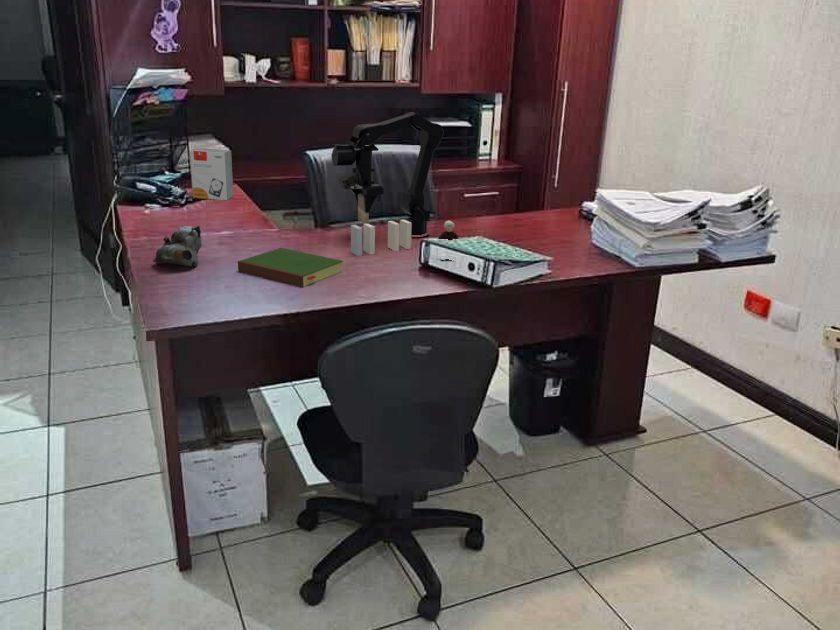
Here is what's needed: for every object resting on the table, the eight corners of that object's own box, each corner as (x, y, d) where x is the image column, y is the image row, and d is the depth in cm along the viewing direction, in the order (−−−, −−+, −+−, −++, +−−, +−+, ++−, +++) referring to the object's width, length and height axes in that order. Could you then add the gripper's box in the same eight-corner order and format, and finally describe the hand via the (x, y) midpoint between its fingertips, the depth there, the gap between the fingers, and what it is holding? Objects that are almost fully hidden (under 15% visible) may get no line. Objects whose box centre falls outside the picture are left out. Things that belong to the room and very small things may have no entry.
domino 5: (403, 245, 249) (404, 219, 246) (410, 249, 245) (411, 222, 242) (399, 246, 248) (399, 219, 245) (406, 249, 244) (407, 223, 241)
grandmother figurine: (440, 262, 231) (441, 223, 227) (434, 259, 234) (435, 220, 230) (461, 259, 235) (463, 220, 230) (455, 256, 238) (457, 218, 233)
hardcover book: (238, 273, 217) (237, 261, 215) (281, 259, 232) (280, 247, 231) (304, 289, 205) (304, 276, 204) (345, 273, 220) (344, 261, 219)
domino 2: (362, 219, 252) (362, 193, 249) (368, 222, 248) (368, 196, 245) (357, 220, 252) (357, 194, 248) (364, 223, 248) (364, 196, 244)
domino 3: (367, 250, 242) (367, 223, 239) (374, 254, 238) (374, 226, 235) (363, 250, 241) (363, 223, 238) (370, 254, 237) (370, 227, 234)
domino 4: (391, 247, 247) (392, 220, 243) (399, 250, 243) (399, 224, 239) (387, 247, 246) (387, 221, 243) (394, 251, 242) (395, 224, 239)
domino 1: (355, 251, 240) (355, 224, 237) (362, 255, 236) (362, 228, 233) (350, 252, 239) (350, 225, 236) (357, 256, 235) (357, 228, 232)
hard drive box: (192, 198, 309) (188, 150, 301) (200, 194, 316) (196, 147, 309) (227, 200, 306) (224, 152, 299) (234, 197, 313) (231, 149, 306)
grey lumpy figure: (148, 262, 222) (161, 218, 224) (188, 273, 229) (200, 230, 230) (158, 260, 210) (172, 214, 211) (200, 273, 216) (212, 227, 217)
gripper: (329, 161, 247) (330, 207, 252) (353, 170, 232) (353, 219, 237) (359, 159, 252) (359, 204, 258) (385, 168, 237) (384, 216, 243)
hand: (363, 211), depth 249 cm, fingers closed on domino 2, 5 cm apart
